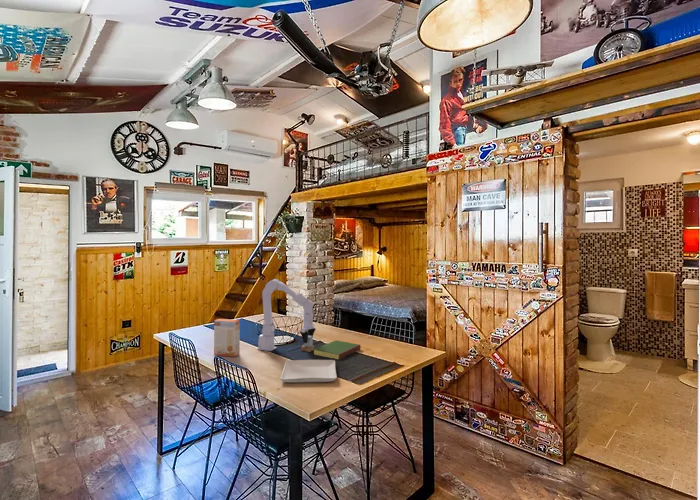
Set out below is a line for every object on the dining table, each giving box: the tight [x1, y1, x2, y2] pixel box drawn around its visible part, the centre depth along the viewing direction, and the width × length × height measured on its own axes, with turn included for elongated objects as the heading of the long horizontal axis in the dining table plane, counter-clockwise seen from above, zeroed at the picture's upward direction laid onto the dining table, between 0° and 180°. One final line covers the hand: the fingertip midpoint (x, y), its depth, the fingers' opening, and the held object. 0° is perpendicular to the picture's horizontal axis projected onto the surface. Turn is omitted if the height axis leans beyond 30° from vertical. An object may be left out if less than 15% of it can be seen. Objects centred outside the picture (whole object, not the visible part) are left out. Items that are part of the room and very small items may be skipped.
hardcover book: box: [313, 340, 361, 361], centre depth 235 cm, size 25×19×4 cm
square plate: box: [279, 359, 338, 383], centre depth 195 cm, size 27×27×4 cm
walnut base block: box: [300, 344, 315, 353], centre depth 238 cm, size 6×6×3 cm
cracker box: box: [213, 318, 241, 358], centre depth 227 cm, size 14×6×21 cm, turn 74°
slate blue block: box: [303, 335, 314, 347], centre depth 238 cm, size 4×4×6 cm
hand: (307, 341), depth 238 cm, fingers open, 7 cm apart
